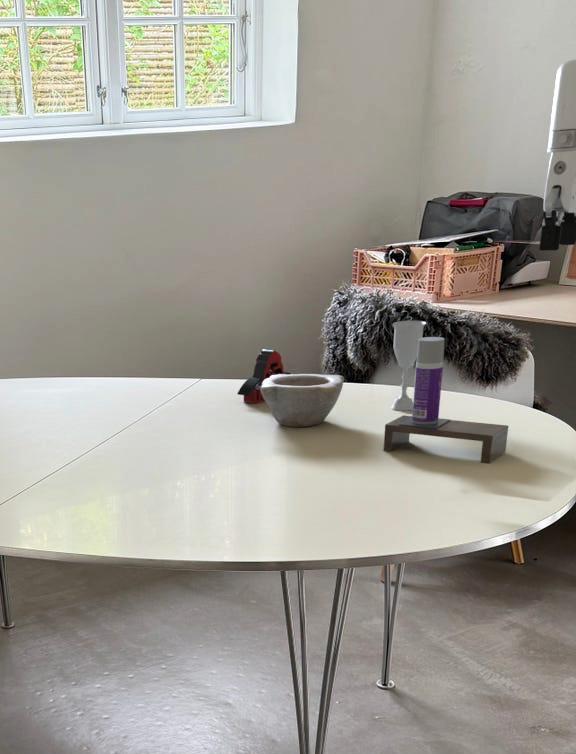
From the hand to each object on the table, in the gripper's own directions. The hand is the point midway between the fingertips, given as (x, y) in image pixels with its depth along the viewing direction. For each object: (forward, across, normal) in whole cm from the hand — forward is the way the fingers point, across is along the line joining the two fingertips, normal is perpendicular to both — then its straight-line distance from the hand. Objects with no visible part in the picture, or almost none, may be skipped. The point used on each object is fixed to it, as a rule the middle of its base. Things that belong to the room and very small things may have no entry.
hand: (557, 247), depth 173 cm
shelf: (+33, -22, +9) cm, 41 cm away
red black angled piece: (+34, +5, +63) cm, 72 cm away
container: (+28, -22, +13) cm, 38 cm away
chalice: (+34, +7, +30) cm, 46 cm away
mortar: (+34, -13, +44) cm, 57 cm away
